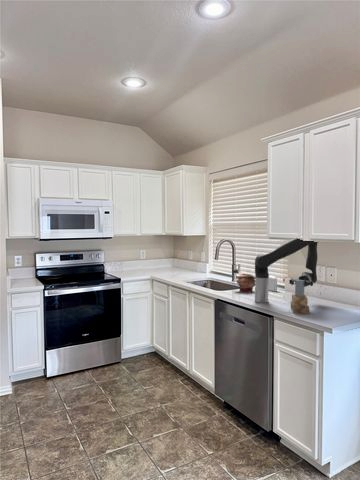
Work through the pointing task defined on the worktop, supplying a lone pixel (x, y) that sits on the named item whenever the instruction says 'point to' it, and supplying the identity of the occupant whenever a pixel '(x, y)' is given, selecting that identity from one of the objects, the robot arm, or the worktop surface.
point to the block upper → (299, 300)
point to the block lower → (299, 309)
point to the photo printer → (272, 283)
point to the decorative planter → (246, 282)
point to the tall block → (299, 288)
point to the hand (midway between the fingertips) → (299, 284)
